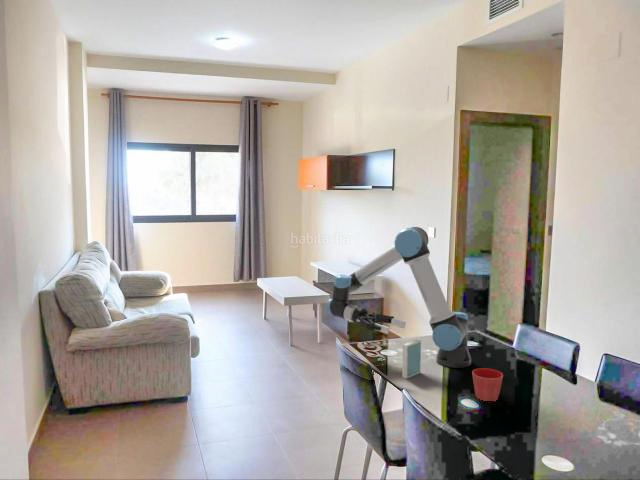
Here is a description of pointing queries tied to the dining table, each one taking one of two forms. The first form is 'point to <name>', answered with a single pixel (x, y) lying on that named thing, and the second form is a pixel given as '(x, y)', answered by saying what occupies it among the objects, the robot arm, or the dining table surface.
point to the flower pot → (487, 383)
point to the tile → (411, 358)
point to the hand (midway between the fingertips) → (396, 328)
